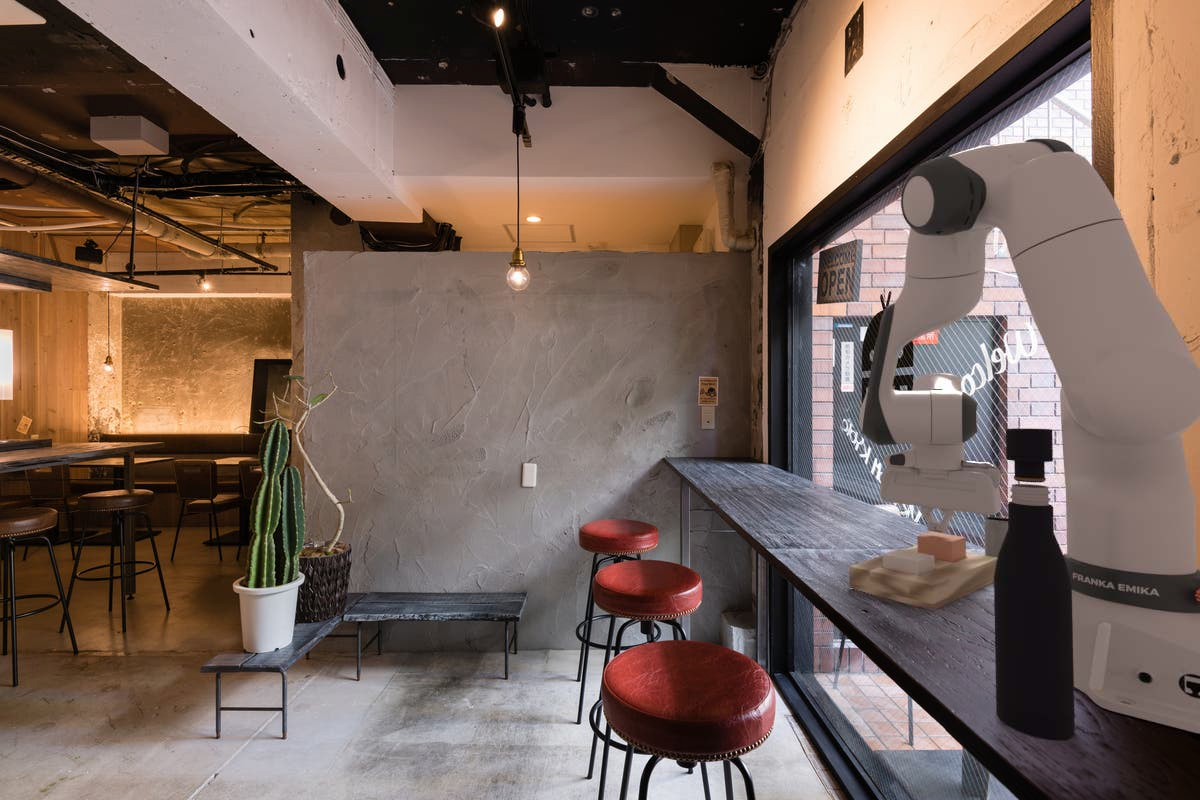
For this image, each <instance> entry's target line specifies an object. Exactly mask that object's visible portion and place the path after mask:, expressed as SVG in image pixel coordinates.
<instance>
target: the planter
mask: <svg viewBox="0 0 1200 800" xmlns="http://www.w3.org/2000/svg"><path fill="white" fill-rule="evenodd" d="M1007 531H1008V517H1002V516H985V517H984V555H985V556H991V557H996V558H998V554H999V551H1000V548H1001V546H1002V543H1003V541H1004V538H1005V536H1006V533H1007Z"/></svg>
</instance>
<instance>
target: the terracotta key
mask: <svg viewBox="0 0 1200 800" xmlns="http://www.w3.org/2000/svg"><path fill="white" fill-rule="evenodd" d="M966 538H967V537H965V536H960V535H953V534H948V533H939V532H932V531H929V532H927V533H924V534H920V535H918V536H917V545H918V553H922V554H928V555H933V556H934V559H935V560H941V561H946V562H951V563H954V562H957V561H959V560H962V559H965V558H966V552H967V547H966V545H967V544H966V543H967V539H966Z"/></svg>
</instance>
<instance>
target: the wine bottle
mask: <svg viewBox="0 0 1200 800" xmlns="http://www.w3.org/2000/svg"><path fill="white" fill-rule="evenodd" d="M1053 447H1054V444H1053V429H1051V428H1023V427H1022V428H1019V427H1018V428H1017V427H1016V428H1006V429H1005V454H1006V457H1005V460H1008V461H1014V466H1013V467H1014V476H1013V479H1014V481H1016V482H1023V483H1015V484H1014V483H1013V484H1011V488H1010V489H1009V491H1010V492H1011V495H1010V496H1009V498H1010V499H1011V501H1008V503H1007V518H1008V531H1007V533H1006V536H1005V538H1004V541H1003V543H1002V546H1001V548H1000V551H999V554H998V558H997V562H996V567H995V573H994V582H993V600H994V601H993V602H994V605H993V606H994V607H993V609H994V610H993V611H994V650H995V651H994V653H995V654H994V656H995V665H994V666H995V700H996V701H995V706H996V715H997V716H998V719H1000V720H1001V721H1002V723H1004V724H1005V725H1007V726H1008V727H1011V729H1014V730H1017V731H1018V732H1021V733H1023V734H1026V735H1030V736H1033V737H1036V738H1041V739H1046V740H1056V741H1058V740H1059V741H1061V740H1067V739H1071V738H1072V737H1074V736H1075V732H1076V731H1075V728H1076V727H1075V726H1076V725H1075V722H1076V721H1075V720H1076V719H1075V716H1076V715H1075V687H1074V668H1073V621H1072V585H1071V581H1070V576H1069V572H1068V568H1067V564H1066V561H1065V558H1064V556H1063V555H1064V554H1063V551H1062V549H1061V546H1060V544H1059V541H1058V540H1057V539H1058V538H1057V537H1056V534H1055V530H1054V529H1055V528H1054V527H1055V526H1054V525H1055V524H1054V523H1055V522H1054V520H1055V519H1054V506H1053V505H1052V504H1050V503H1049V502H1051V498H1050V497H1049V495H1050V494H1051V491H1050V490H1049V486H1047V485H1041V484H1031V483H1045V481H1047V478H1046V473H1045V472H1046V471H1045V469H1046V466H1045V463H1052V462H1054V460H1053V459H1054V454H1053V453H1054V448H1053ZM1028 483H1030V484H1028Z"/></svg>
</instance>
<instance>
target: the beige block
mask: <svg viewBox="0 0 1200 800" xmlns="http://www.w3.org/2000/svg"><path fill="white" fill-rule="evenodd" d="M882 556H883V568H886V569H891V570H895V571H900V572H904V573H909V574H913V575H918V576H920V575H923V574H925V573H928V572H931V571H933V570H935V569H934V556H933V555H928V554H922V553H917V552H912V551H906V550H903V549H901V548H900V549H896V550H895V549H894V550H892V551H889V552H886V553H883V554H882Z"/></svg>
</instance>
